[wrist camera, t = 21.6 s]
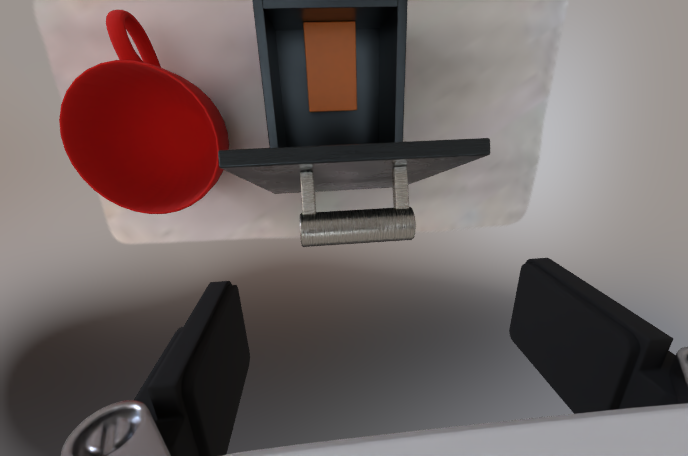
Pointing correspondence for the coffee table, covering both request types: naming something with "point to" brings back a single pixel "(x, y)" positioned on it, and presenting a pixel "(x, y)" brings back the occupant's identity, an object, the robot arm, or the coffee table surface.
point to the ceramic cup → (141, 128)
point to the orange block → (331, 65)
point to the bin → (371, 72)
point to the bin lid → (351, 181)
